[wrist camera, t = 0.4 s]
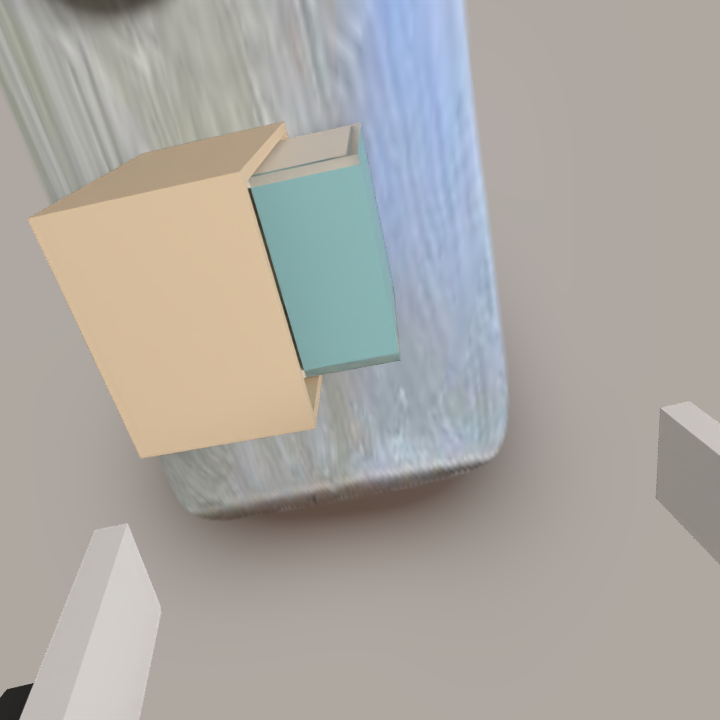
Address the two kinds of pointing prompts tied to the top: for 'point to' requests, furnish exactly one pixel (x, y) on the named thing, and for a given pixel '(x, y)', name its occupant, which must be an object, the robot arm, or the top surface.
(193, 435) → the sleeve
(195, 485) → the top surface
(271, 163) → the drawer box
